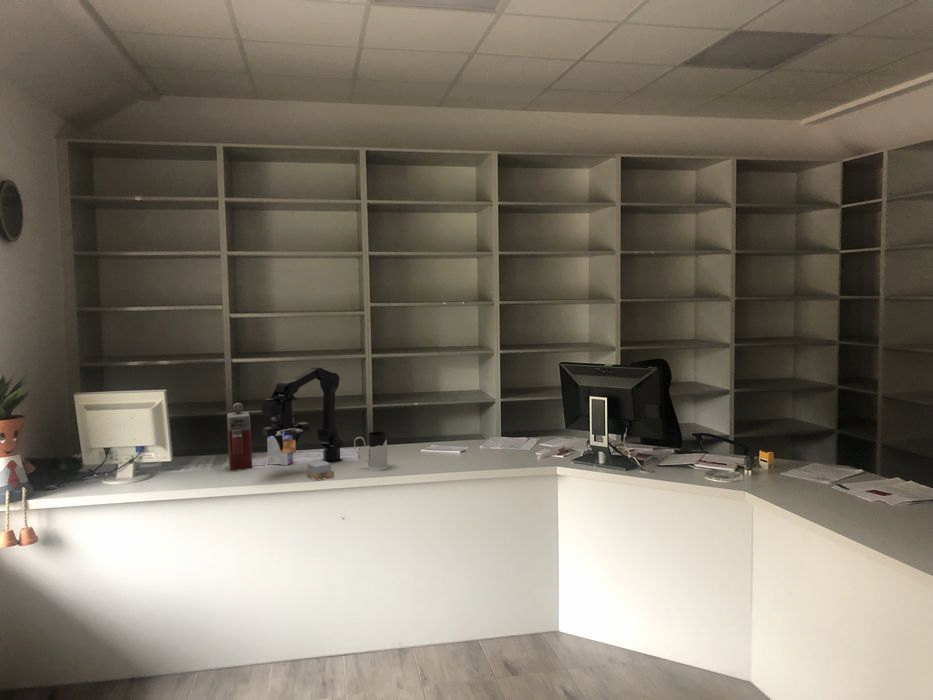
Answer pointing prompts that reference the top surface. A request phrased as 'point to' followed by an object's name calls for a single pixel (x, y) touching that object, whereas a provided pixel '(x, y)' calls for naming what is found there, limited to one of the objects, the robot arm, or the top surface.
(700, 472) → the top surface
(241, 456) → the red and grey bottle
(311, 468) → the tower top
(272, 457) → the ink cartridge box
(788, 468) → the top surface
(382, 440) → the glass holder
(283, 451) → the orange cube
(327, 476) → the tower base
